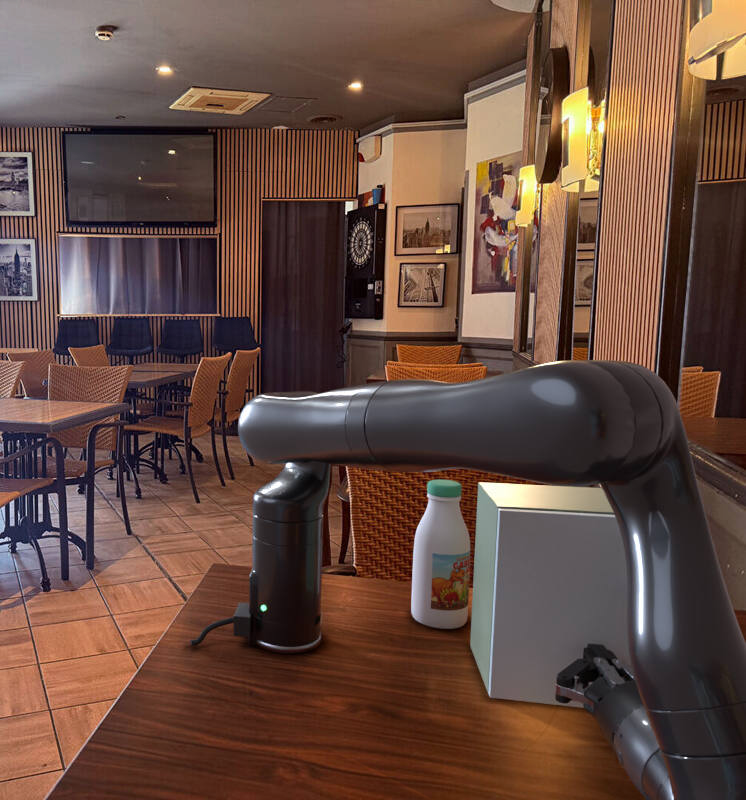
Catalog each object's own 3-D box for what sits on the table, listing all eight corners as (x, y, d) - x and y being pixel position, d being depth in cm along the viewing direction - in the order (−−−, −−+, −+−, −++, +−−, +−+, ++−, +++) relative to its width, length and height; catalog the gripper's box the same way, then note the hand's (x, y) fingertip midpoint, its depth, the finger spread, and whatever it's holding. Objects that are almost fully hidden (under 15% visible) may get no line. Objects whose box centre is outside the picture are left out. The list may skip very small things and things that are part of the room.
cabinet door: (666, 742, 70) (684, 534, 68) (498, 723, 73) (509, 523, 71) (642, 709, 76) (657, 517, 73) (488, 693, 79) (498, 508, 77)
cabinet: (641, 709, 76) (656, 514, 74) (487, 693, 79) (497, 506, 77) (602, 658, 88) (614, 488, 86) (470, 646, 91) (478, 482, 89)
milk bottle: (407, 624, 97) (413, 485, 95) (413, 604, 104) (418, 474, 102) (466, 634, 94) (473, 491, 92) (468, 612, 101) (474, 479, 99)
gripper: (759, 714, 56) (664, 624, 73) (582, 696, 58) (530, 613, 75) (751, 800, 57) (659, 691, 74) (577, 779, 59) (526, 679, 76)
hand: (593, 652), depth 74 cm, fingers closed
